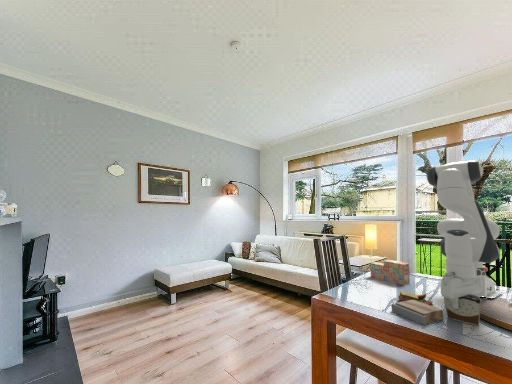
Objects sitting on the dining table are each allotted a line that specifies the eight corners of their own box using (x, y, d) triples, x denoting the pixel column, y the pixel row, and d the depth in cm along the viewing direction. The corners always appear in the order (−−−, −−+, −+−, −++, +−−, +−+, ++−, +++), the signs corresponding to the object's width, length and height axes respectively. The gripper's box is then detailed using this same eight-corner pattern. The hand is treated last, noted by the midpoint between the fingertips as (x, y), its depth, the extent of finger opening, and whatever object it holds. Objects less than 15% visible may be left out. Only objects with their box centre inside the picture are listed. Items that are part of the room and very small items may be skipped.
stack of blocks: (370, 277, 158) (369, 258, 159) (375, 276, 161) (375, 257, 162) (404, 285, 139) (403, 264, 140) (410, 284, 143) (409, 263, 144)
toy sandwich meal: (433, 312, 103) (433, 300, 104) (397, 304, 111) (396, 294, 112) (433, 303, 114) (432, 292, 114) (400, 297, 121) (399, 287, 122)
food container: (485, 322, 93) (483, 295, 94) (484, 327, 89) (482, 299, 90) (445, 312, 102) (443, 288, 103) (442, 316, 98) (441, 291, 99)
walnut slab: (414, 308, 107) (413, 299, 107) (443, 320, 96) (442, 309, 96) (396, 312, 103) (395, 302, 104) (424, 324, 92) (423, 313, 92)
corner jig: (411, 306, 108) (411, 299, 109) (445, 320, 95) (445, 312, 95) (391, 310, 104) (391, 303, 104) (424, 325, 91) (424, 317, 91)
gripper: (452, 275, 90) (455, 314, 89) (484, 270, 97) (487, 305, 96) (434, 271, 96) (436, 307, 95) (466, 267, 103) (468, 300, 102)
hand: (462, 306), depth 96 cm, fingers open, 6 cm apart
